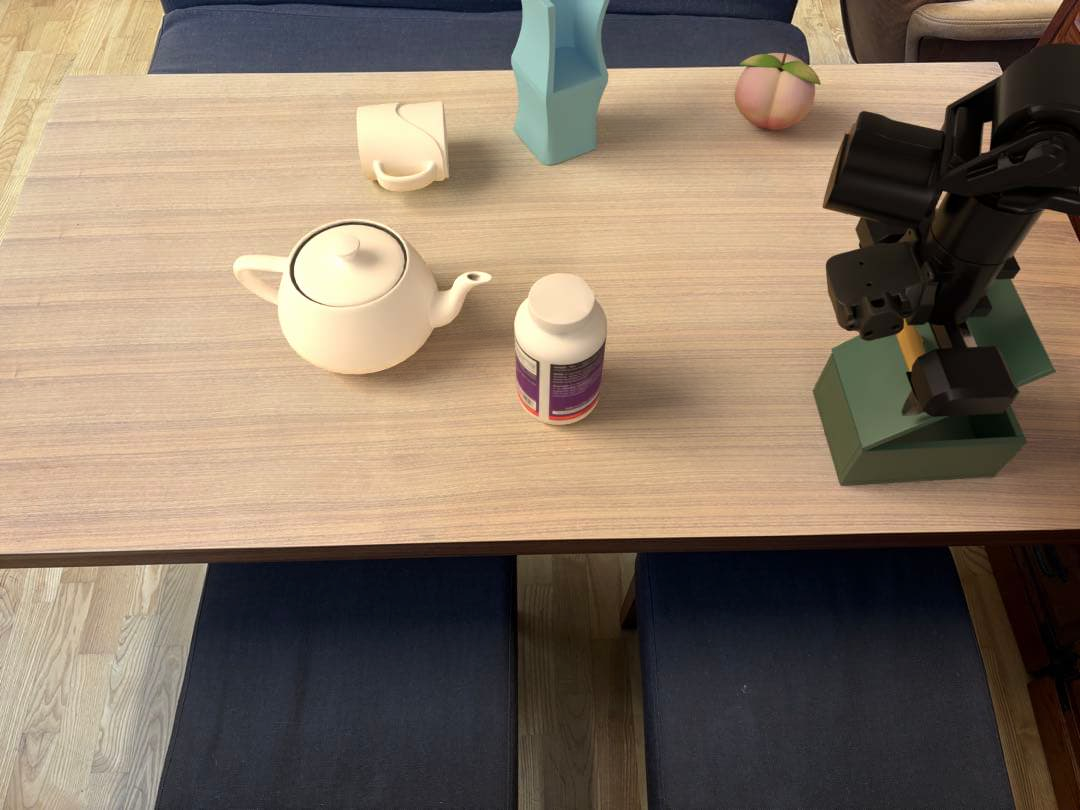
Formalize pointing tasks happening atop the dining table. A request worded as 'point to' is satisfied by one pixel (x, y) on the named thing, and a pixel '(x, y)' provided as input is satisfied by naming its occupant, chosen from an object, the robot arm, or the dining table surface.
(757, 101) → the decorative fruit
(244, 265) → the teapot
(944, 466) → the tea tin
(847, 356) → the tin lid
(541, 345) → the pill bottle
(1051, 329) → the dining table surface
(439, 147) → the mug
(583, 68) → the vase
